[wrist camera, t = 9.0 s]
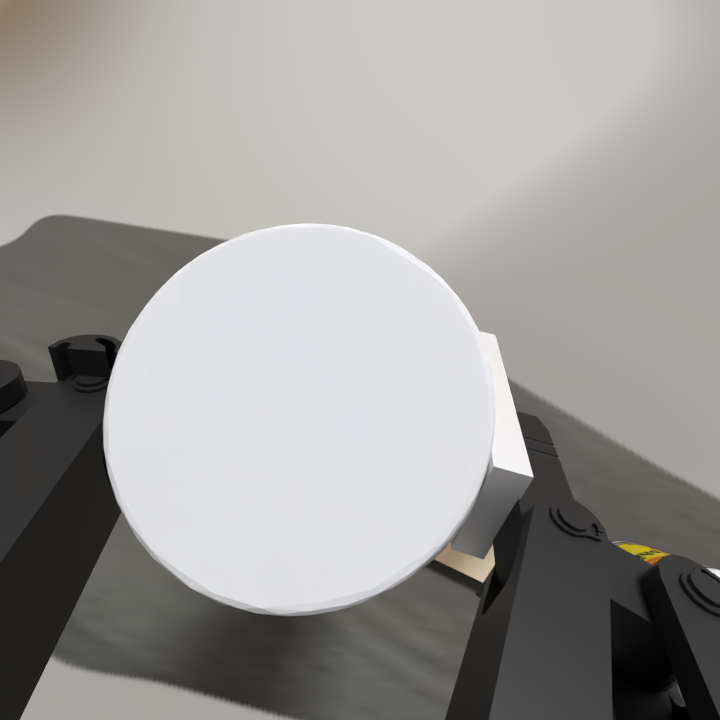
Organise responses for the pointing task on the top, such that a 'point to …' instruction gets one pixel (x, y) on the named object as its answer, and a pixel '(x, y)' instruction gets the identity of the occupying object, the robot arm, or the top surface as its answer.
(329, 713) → the top surface
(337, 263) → the supplement bottle
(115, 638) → the top surface
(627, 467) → the top surface
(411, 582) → the top surface
